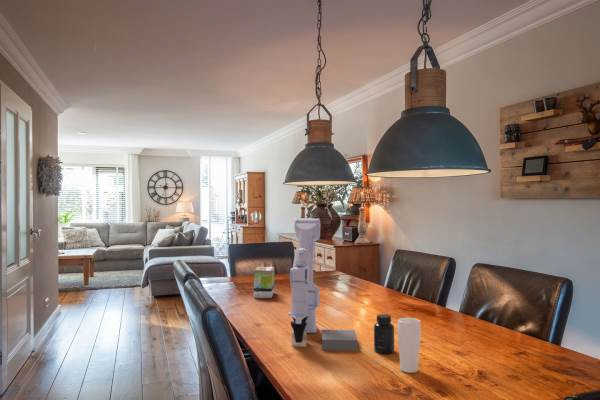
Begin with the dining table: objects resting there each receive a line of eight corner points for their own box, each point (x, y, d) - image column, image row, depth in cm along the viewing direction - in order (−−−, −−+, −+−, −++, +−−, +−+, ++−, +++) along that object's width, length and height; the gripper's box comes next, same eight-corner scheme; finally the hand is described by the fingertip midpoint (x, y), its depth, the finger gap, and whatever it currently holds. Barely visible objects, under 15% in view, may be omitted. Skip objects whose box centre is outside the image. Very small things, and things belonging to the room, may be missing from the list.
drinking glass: (416, 366, 137) (416, 317, 137) (423, 374, 130) (423, 323, 130) (394, 366, 137) (395, 317, 137) (400, 374, 130) (400, 323, 130)
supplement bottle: (380, 346, 156) (380, 312, 156) (397, 350, 151) (398, 315, 151) (370, 351, 150) (370, 316, 150) (388, 356, 146) (388, 319, 146)
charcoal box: (321, 340, 164) (321, 329, 164) (354, 341, 163) (354, 330, 163) (321, 351, 152) (322, 339, 152) (357, 352, 151) (357, 340, 151)
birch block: (292, 342, 161) (292, 328, 161) (306, 342, 160) (306, 328, 160) (291, 346, 156) (291, 332, 156) (306, 346, 155) (306, 332, 155)
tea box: (272, 298, 234) (272, 270, 234) (253, 298, 235) (253, 270, 235) (274, 292, 249) (274, 266, 250) (256, 292, 250) (256, 266, 250)
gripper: (289, 296, 166) (289, 332, 165) (286, 304, 151) (286, 345, 151) (308, 296, 165) (308, 333, 165) (307, 305, 151) (307, 345, 151)
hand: (299, 339), depth 158 cm, fingers open, 7 cm apart
